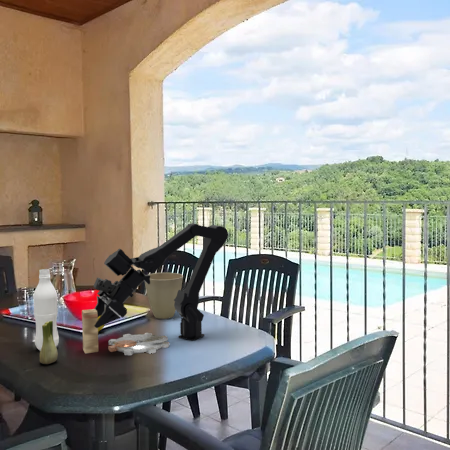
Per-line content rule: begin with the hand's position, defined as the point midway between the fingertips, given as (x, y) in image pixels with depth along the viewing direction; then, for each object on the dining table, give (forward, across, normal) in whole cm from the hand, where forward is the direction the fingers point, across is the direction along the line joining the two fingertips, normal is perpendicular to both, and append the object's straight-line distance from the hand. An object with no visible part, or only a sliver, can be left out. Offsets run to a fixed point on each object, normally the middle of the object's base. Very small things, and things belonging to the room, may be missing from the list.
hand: (92, 323), depth 162 cm
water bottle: (+15, -8, -3) cm, 17 cm away
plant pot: (-17, -30, +29) cm, 45 cm away
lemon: (+3, -19, +10) cm, 22 cm away
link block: (+7, 0, +6) cm, 9 cm away
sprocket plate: (-4, +1, +16) cm, 17 cm away
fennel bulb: (+16, +6, -3) cm, 17 cm away
